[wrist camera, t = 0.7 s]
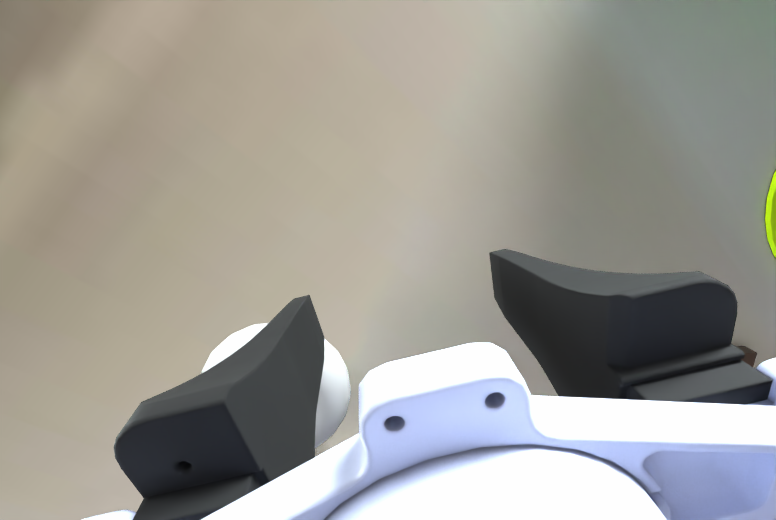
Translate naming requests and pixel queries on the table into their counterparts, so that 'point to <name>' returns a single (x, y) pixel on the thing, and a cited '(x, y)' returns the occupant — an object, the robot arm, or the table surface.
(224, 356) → the donut
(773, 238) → the toy cauldron
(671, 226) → the table surface
